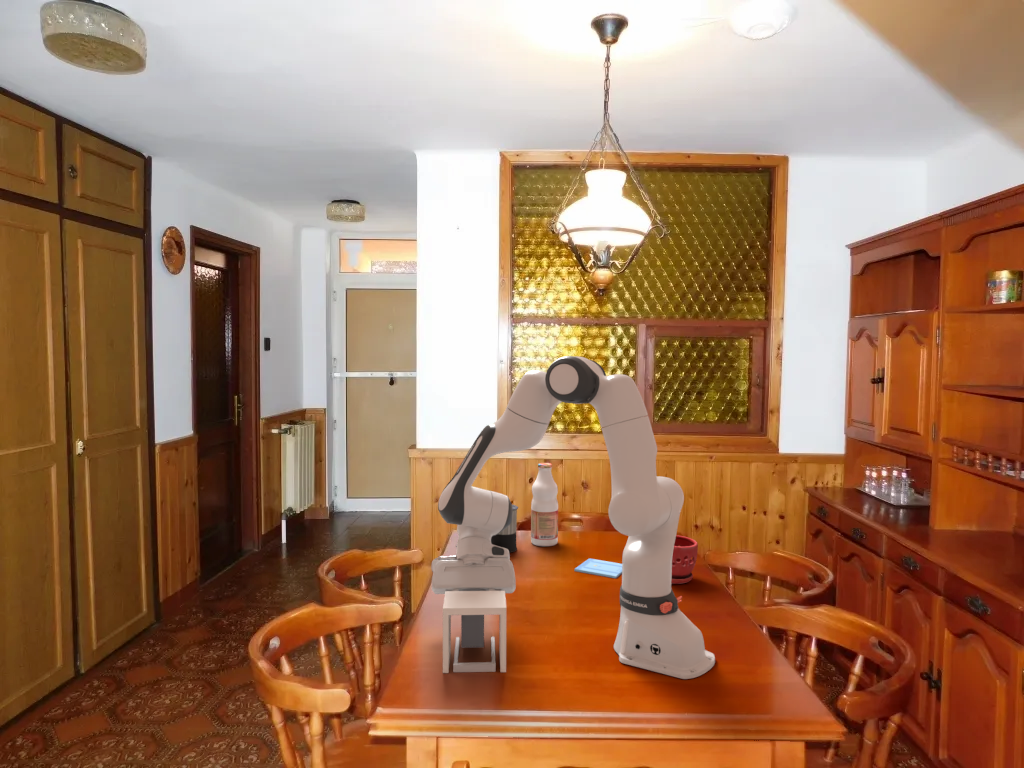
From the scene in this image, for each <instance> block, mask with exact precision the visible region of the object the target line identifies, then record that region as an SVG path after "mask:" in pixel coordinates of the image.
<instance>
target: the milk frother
mask: <svg viewBox="0 0 1024 768" xmlns="http://www.w3.org/2000/svg"><path fill="white" fill-rule="evenodd" d="M512 508H513V516H512V521H511V524H510V525H509V526H508V527H507V528H506V529H505V530H503V531H502V532H500V533H499V534H497V535H493V536H492V537H491V543H492V544H493V545H496V546H499V547H503V548H506V549H508V550H509V554H510V553H513V552H516V551H518V548H517V521H518V519H517V518H518V517H517V515H518V510H519V506H517V505H515V504H512Z"/></svg>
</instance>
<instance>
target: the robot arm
mask: <svg viewBox="0 0 1024 768" xmlns="http://www.w3.org/2000/svg"><path fill="white" fill-rule="evenodd" d="M561 403H565V404H567V403H568V404H573V405H574V404H575V405H580V404H581V405H582V404H585V405H586V404H589V405H591V406H592V407H593V408H594V410H595V412H596V414H597V417H598V420H599V424H600V429H601V431H602V436H603V439H604V443H605V447H606V452H607V455H608V459H609V464H610V465H609V466H610V476H611V479H610V481H611V496H610V497H611V498H610V502H609V505H608V510H607V511H608V513H607V514H608V517H609V521H610V523H611V525H612V526H613V528H614V529H615V530H616V531H617V532H618V533H620V534H622V535H624V536H628V538H627V541H626V544H625V546H624V549H623V551H622V554H621V555H622V559H621V560H622V561H621V562H622V563H621V564H622V574H621V585H620V588H619V605H620V615H619V616H620V617H619V622H618V623H619V624H618V628H617V633H616V637H615V641H614V644H613V649H614V651H615V652H616V654H617V655H618V660H619V662H620V663H622V664H625V665H629V666H632V667H636V668H640V669H643V670H648V671H651V672H655V673H658V674H663V675H666V676H670V677H674V678H678V679H682V680H688V679H694V678H697V677H700V676H702V675H704V674H705V673H707V672H708V671H710V670H711V669H712V668H713V667H714V666H715V663H716V657H715V653H713V652H711V651H708V650H707V649H705V648H706V647H705V640H704V636H703V633H702V631H701V630H700V629H699V628H698V627H697V626H696V624H694V623H693V622H692V621H691V620H690V619H689V618H688V617H687V616H686V615H685V614H684V612H682V611H681V609H680V608H679V603H680V602H682V601H683V600H682V599H683V596H682V595H680V596H678V597H676V596H675V592H674V591H673V588H672V584H671V580H672V556H673V549H674V543H675V538H676V535H677V531H678V527H679V521H680V515H681V512H682V509H683V506H684V501H685V496H684V495H685V494H684V491H683V489H682V487H681V485H680V484H679V483H678V482H677V481H676V480H674V479H673V478H671V477H666V476H662V475H661V476H657V455H658V445H657V442H656V437H655V435H654V431H653V428H652V423H651V420H650V416H649V413H648V410H647V407H646V404H645V402H644V399H643V397H642V394H641V392H640V390H639V388H638V386H637V384H636V382H635V381H634V379H633V378H632V377H631V376H629V375H627V374H621V373H615V374H610V375H607V374H606V372H605V369H604V368H603V367H602V365H600V364H599V363H598V362H596V361H595V360H592V359H588V358H586V357H584V356H577V355H576V356H573V355H566V356H562V357H559V358H557V359H556V360H554V361H553V362H552V363H551V364H550V365H549V367H548V368H547V370H546V371H543V370H538V369H537V370H535V369H534V370H529V371H527V372H525V373H524V374H523V375H522V377H521V379H520V380H519V382H518V383H517V384H516V387H515V389H514V391H513V392H512V394H511V396H510V398H509V400H508V403H507V406H506V407H505V410H504V411H503V413H502V414H501V416H500V417H499V418H498V419H497V420H496V421H494V423H492V424H488V425H487V424H486V426H484V428H483V429H482V430H481V431H480V433H479V434H478V435H477V436H476V439H475V440H474V442H473V443H472V445H471V447H470V448H469V450H468V451H467V454H466V455H465V456H464V458H463V460H462V462H461V463H460V465H459V467H458V469H457V470H456V472H455V473H454V475H453V476H452V478H451V479H450V480H449V482H448V483H447V484H446V486H445V487H444V488H443V490H442V492H441V494H440V496H439V499H438V503H437V509H438V511H439V514H440V516H441V517H442V519H443V521H445V523H446V524H449V525H457V526H456V531H457V535H458V537H457V541H456V551H455V552H456V553H455V555H447V556H444V555H439V556H438V557H436V558H434V559H433V560H432V561H431V572H432V577H431V591H432V593H434V594H435V595H445V591H505V594H513V593H514V592H515V591H516V587H517V584H516V583H517V581H516V575H515V574H516V573H515V568H514V565H513V562H512V560H510V559H511V558H510V556H511V555H510V553H509V550H508V549H506V548H503V547H499V546H496V545H493V544H492V543H491V537H492V536H493V535H497V534H499V533H500V532H502V531H503V530H505V529H506V528H507V527H508V526H509V525H510V524H511V521H512V516H513V508H512V505H513V504H512V502H511V499H510V498H509V496H508V495H507V494H503V493H500V492H497V491H492V490H488V489H484V488H481V487H478V486H477V487H476V486H473V484H474V482H475V480H476V479H477V477H478V475H479V473H481V470H483V467H484V466H485V464H486V462H487V461H488V460H489V459H490V458H492V457H494V456H496V455H499V454H503V453H509V452H510V453H512V452H523V451H527V450H529V449H532V448H534V447H536V446H537V445H538V444H539V443H540V442H541V441H542V439H543V438H544V436H545V435H546V432H547V430H548V427H549V424H550V422H551V419H552V417H553V415H554V412H555V410H556V409H557V407H558V406H559V405H560V404H561Z"/></svg>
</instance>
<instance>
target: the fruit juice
mask: <svg viewBox="0 0 1024 768" xmlns="http://www.w3.org/2000/svg"><path fill="white" fill-rule="evenodd" d="M537 469H538V473H537V476H536V479H535V481H534V482H533V483H532V486H531V493H532V499H531V503H530V505H531V506H530V511H531V513H530V517H531V518H530V523H531V524H530V541H531V543H532V545H534V546H537V547H552V546H556V545H557V544H558V539H559V502H558V499H557V495H558V493H559V489H558V487H559V486H558V485H557V483H556V481H555V480H554V476H553V473H552V469H553V464H552V463H551V462H540V463H538V464H537Z"/></svg>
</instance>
